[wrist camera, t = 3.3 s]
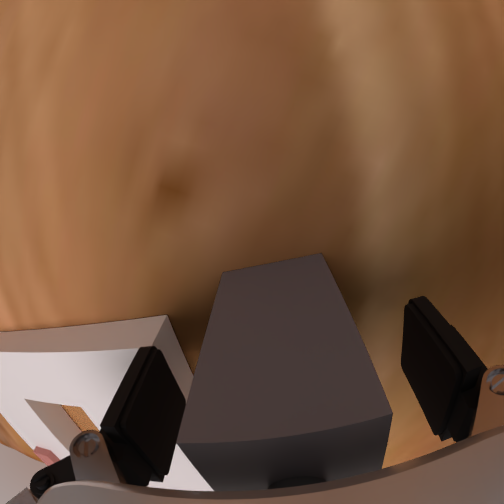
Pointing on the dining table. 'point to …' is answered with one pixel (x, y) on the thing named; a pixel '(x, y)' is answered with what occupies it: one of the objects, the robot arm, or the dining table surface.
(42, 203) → the dining table surface
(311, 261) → the plug
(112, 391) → the socket plate
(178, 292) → the dining table surface
